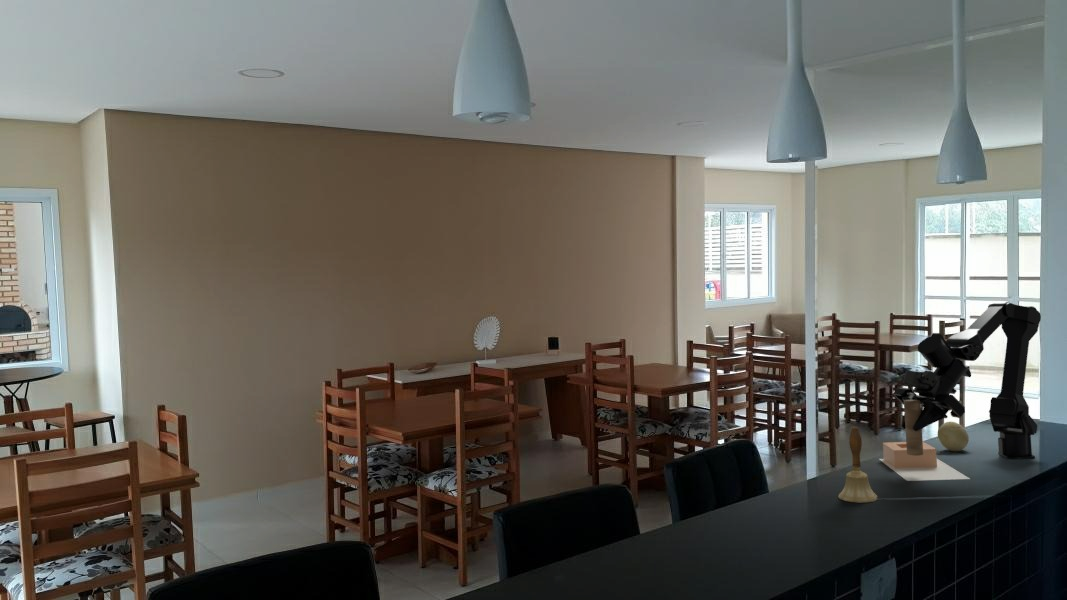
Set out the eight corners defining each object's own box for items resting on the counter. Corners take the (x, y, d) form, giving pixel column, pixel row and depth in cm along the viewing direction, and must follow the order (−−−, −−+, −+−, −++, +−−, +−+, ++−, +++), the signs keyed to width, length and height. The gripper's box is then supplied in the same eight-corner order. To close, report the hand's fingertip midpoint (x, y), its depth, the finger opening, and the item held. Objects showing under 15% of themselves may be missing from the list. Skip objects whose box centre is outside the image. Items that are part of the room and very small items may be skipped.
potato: (934, 452, 217) (932, 423, 217) (945, 447, 223) (943, 418, 223) (963, 455, 212) (961, 425, 212) (974, 449, 217) (972, 420, 217)
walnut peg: (920, 452, 195) (917, 399, 195) (925, 455, 191) (922, 401, 191) (904, 452, 195) (901, 400, 195) (909, 455, 192) (906, 402, 192)
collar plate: (934, 458, 210) (933, 440, 210) (970, 480, 186) (969, 459, 186) (878, 460, 212) (877, 442, 212) (907, 482, 188) (905, 461, 188)
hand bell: (871, 492, 182) (866, 423, 182) (883, 502, 174) (878, 429, 174) (833, 494, 183) (829, 425, 183) (844, 503, 175) (839, 431, 174)
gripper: (897, 356, 203) (862, 403, 201) (951, 360, 185) (913, 412, 182) (925, 383, 205) (891, 430, 203) (981, 391, 187) (944, 443, 184)
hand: (908, 428), depth 193 cm, fingers closed on walnut peg, 4 cm apart
